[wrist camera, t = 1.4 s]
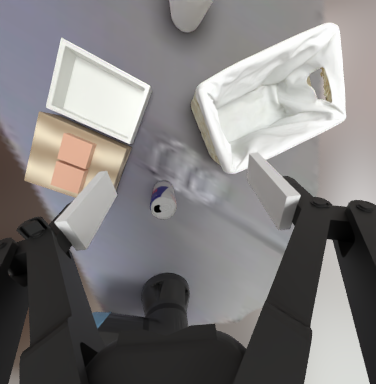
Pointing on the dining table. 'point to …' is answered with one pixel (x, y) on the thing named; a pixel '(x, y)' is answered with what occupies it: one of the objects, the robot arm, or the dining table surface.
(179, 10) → the foam cup
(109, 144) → the tan wooden block
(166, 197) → the energy drink
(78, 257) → the dining table surface
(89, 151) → the tile
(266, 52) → the storage basket
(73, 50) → the box
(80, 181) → the tile
